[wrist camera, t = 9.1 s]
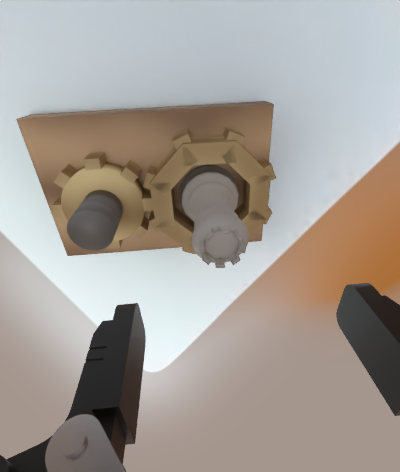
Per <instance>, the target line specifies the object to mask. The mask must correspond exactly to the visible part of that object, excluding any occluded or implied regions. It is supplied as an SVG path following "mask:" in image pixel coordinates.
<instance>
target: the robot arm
mask: <svg viewBox="0 0 400 472" xmlns="http://www.w3.org/2000/svg"><path fill="white" fill-rule="evenodd" d="M337 321H338V324H339V326H340V328H341V330H342V331H343V333H344V335H345V336H346V338H347V340H348V341H349V343H350V344H351V346H352V347H353V349H354V351H355V352H356V354H357V356H358V357H359V359H360V360H361V362H362V364H363V365H364V367H365V368H366V370H367V371H368V373H369V375H370V376H371V378H372V380H373V381H374V383H375V384H376V386H377V388H378V389H379V391H380V393H381V394H382V396H383V397H384V399H385V400H386V402H387V404H388V405H389V407H390V409H391V410H392V412H393V413H394V415H395V416H397V415H400V305H399V304H397V303H396V302H394V301H393V300H391V299H390V298H388V297H387V296H381V295H380V294H379V292H378V291H377V290H376V289H375V288H374V287H373V286H372V285H371V284H369V283H362V284H352V285H347V286H346V287H345V288H344V291H343V294H342V297H341V300H340V303H339V306H338V309H337ZM89 348H90V350H89V351H88V354H87V357H86V363H85V364H84V368H83V371H82V374H81V378H80V381H79V384H78V388H77V391H76V394H75V397H74V401H73V404H72V407H71V410H70V413H69V415H68V417H67V419H66V420H65V422H64V423H63V424H62V425H61V426H60V427H59V428H58V429H57V430H56V432H55V433H54V434H53V435H52V436H51V437H50V438H49V439H47V440H46V441H44V442H42V443H41V444H39V445H37V446H34V447H32V448H30V449H28V450H26V451H24V452H22V453H19V454H17V455H15V456H13V457H11V458H9V459H5V458H4V457H2V456H1V455H0V472H126V470H125V468H124V466H123V458H124V450H125V445H126V444H135V438H136V428H137V418H138V409H139V400H140V390H141V380H142V371H143V362H144V352H145V329H144V325H143V321H142V317H141V313H140V308H139V305H138V303H135V304H124V305H117V307H116V309H115V313H114V318H113V320H110V321H103V322H102V323H101V324H100V326H99V327H98V328H97V330H96V331H95V333H94V334H93V337H92V341H91V344H90V347H89Z"/></svg>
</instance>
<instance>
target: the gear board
mask: <svg viewBox="0 0 400 472" xmlns="http://www.w3.org/2000/svg"><path fill="white" fill-rule="evenodd" d="M273 107H274V104H272V103H269V102H266V101H263V102H245V103H228V104H210V105H193V106H176V107H158V108H141V109H123V110H106V111H89V112H71V113H54V114H37V115H28V116H25V117H22V118H19V119H16V120H17V122H18V125H19V128H20V130H21V133H22V136H23V138H24V141H25V144H26V146H27V149H28V152H29V154H30V157H31V160H32V162H33V165H34V168H35V170H36V173H37V175H38V178H39V181H40V183H41V186H42V189H43V191H44V194H45V197H46V199H47V202H48V205H49V207H50V210H51V213H52V215H53V218H54V221H55V223H56V226H57V229H58V231H59V234H60V237H61V239H62V242H63V245H64V247H65V250H66V253H67V255H68V256H73V255H86V254H99V253H112V252H125V251H138V250H151V249H163V248H176V247H183V251H185V252H189V253H193V254H196V253H195V251H194V248H193V246H192V233H193V232H194V221H193V220H192V219H191V218H190V217H189V216H188V215H187V214H186V213H185V211H184V209H183V207H182V204H181V200H180V188H181V185H182V183H183V181H184V179H185V177H186V176H188V175H189V174H190V173H191V172H192V171H193V170H195V169H198V168H200V167H203V166H217V167H220V168H222V169H224V170H226V171H228V173H229V174H230V175H231V176H232V177H233V178H234V180H235V183H236V187H237V190H238V194H239V196H238V203H237V207H236V209H235V210H234V212H235V213H236V214H237V215H238V218H240V219H241V221H242V222H243V223H244V224H245V225H246V226H247V229H248V233H249V239H248V242H253V241H261V239H262V228H263V224H266V223H267V221H268V219H269V217H270V216H271V214H272V211H271V210H270V208H269V207H268V198H269V188H270V181H271V180H273V179H275V178H276V177H275V174H274V171H273V167H272V164H271V163H270V162H269V151H270V140H271V129H272V118H273Z"/></svg>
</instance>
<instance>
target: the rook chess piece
mask: <svg viewBox="0 0 400 472" xmlns="http://www.w3.org/2000/svg"><path fill="white" fill-rule="evenodd" d="M238 196H239V194H238V190H237V187H236V183H235V180H234V178H233V177H232V176H231V175H230V174H229V173H228V171H226V170H224V169H222V168H220V167H217V166H203V167H200V168H198V169H195V170H193V171H192V172H191V173H190V174H189V175H188V176H186V177H185V179H184V181H183V183H182V185H181V188H180V200H181V204H182V207H183V209H184V211H185V213H186V214H187V215H188V216H189V217H190V218H191V219H192V220H193V221H194V232H193V233H192V246H193V248H194V251H195V253H196V254H197V255H199V256H200V257H201V258H202V260H203V261H204V262H206V263H207V264H208V265H209V264H210V262H214V263H215V265H216V268H225V265H224V262H227V261H230V260H231V262H232V264H233V265H234V264H235V263H237V262H238V261H240V258H239V255H240V254H241V253H245V250H246V246H247V244H248V239H249V233H248V229H247V226H246V225H245V224H244V223H243V222H242V221H241V219H240V218H238V215H237V214H236V213H235V212H234V210H235V209H236V207H237V203H238Z"/></svg>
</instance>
